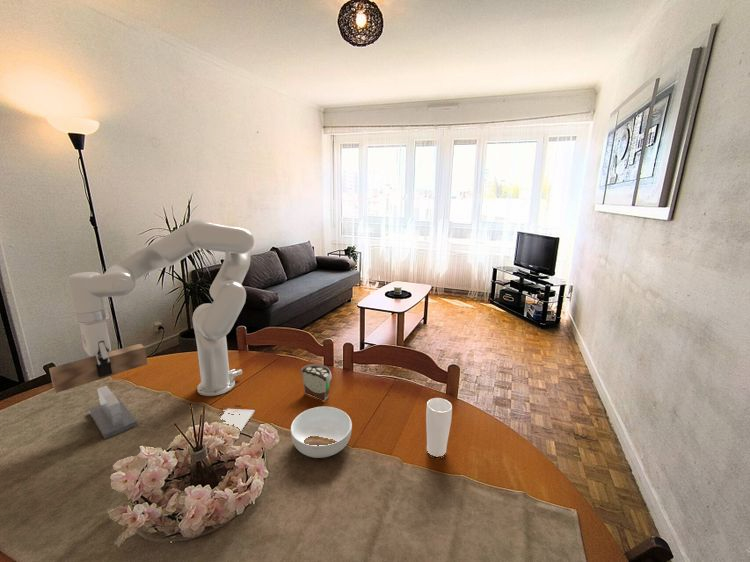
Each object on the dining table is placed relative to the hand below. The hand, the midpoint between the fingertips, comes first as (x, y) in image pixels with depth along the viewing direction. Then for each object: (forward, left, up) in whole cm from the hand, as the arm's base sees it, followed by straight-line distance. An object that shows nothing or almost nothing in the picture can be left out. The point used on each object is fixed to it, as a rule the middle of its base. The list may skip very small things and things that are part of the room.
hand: (103, 372), depth 103 cm
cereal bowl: (-35, +58, -17) cm, 70 cm away
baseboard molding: (-15, +34, -17) cm, 41 cm away
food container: (-52, +38, -17) cm, 67 cm away
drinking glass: (-54, +84, -17) cm, 101 cm away
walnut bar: (0, 0, -1) cm, 1 cm away
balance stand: (0, 0, -16) cm, 16 cm away
